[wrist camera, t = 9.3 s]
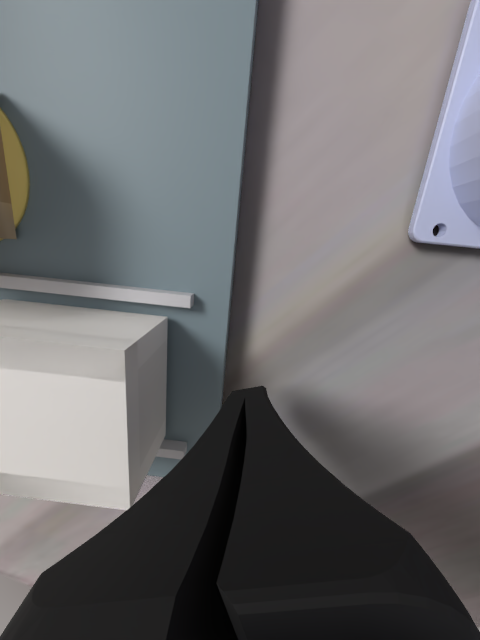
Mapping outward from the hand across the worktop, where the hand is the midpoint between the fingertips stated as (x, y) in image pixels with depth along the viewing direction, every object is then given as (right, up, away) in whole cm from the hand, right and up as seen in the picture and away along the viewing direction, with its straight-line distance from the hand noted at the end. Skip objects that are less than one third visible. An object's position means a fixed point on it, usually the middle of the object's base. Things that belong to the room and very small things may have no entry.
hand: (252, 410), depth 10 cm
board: (-8, +6, +2) cm, 10 cm away
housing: (-7, +1, +1) cm, 8 cm away
